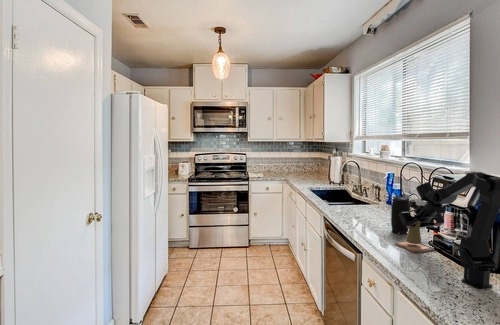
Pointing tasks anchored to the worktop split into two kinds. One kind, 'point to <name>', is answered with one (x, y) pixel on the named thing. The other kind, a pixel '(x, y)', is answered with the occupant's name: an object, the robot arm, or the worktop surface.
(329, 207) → the worktop surface
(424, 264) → the worktop surface
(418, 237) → the cork
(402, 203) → the portable speaker
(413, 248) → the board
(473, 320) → the worktop surface
